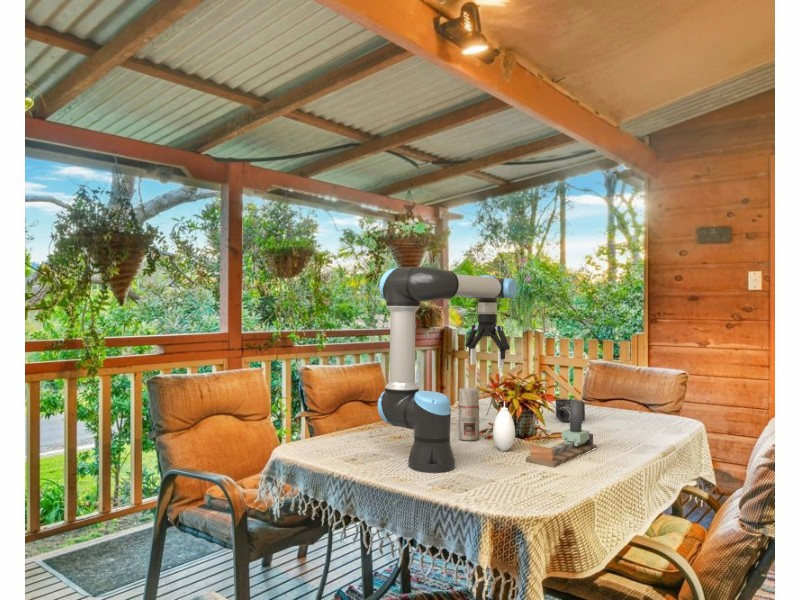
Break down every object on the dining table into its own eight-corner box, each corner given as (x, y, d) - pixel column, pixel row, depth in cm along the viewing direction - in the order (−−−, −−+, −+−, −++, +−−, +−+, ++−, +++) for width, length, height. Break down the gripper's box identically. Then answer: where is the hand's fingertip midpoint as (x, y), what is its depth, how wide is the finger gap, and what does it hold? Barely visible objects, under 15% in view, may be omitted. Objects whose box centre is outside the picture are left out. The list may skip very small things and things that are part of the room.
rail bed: (553, 467, 181) (553, 450, 181) (526, 461, 188) (526, 445, 188) (596, 448, 206) (596, 434, 206) (571, 444, 213) (571, 429, 213)
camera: (546, 420, 258) (546, 398, 258) (559, 417, 265) (559, 396, 266) (574, 425, 248) (574, 402, 248) (586, 422, 255) (587, 400, 255)
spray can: (454, 439, 216) (455, 388, 216) (462, 435, 224) (463, 385, 224) (475, 442, 212) (475, 390, 212) (482, 438, 220) (483, 387, 220)
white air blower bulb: (498, 453, 197) (499, 402, 197) (489, 448, 204) (489, 399, 204) (518, 452, 199) (519, 402, 199) (508, 447, 206) (509, 398, 206)
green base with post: (579, 446, 199) (580, 403, 199) (561, 443, 204) (562, 401, 204) (589, 442, 205) (589, 401, 205) (571, 439, 209) (571, 398, 210)
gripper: (519, 314, 219) (518, 368, 219) (468, 312, 237) (467, 362, 237) (508, 314, 214) (507, 369, 214) (457, 312, 231) (456, 363, 231)
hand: (486, 366), depth 225 cm, fingers open, 13 cm apart
